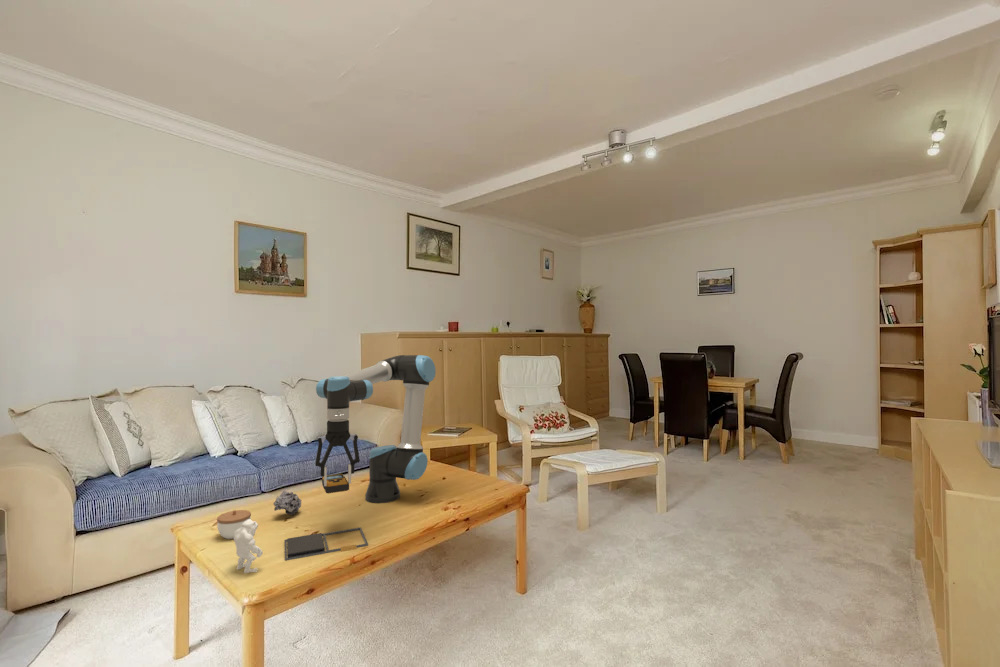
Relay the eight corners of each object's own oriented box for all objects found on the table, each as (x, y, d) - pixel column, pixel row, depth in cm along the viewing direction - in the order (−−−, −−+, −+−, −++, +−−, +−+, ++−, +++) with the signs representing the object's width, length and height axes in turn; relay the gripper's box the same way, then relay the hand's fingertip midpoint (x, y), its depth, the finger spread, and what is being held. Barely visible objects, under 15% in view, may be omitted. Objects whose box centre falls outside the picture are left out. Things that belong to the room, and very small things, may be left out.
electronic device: (325, 495, 167) (325, 485, 167) (321, 484, 181) (320, 475, 181) (350, 491, 170) (349, 482, 170) (344, 480, 184) (343, 472, 184)
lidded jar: (227, 545, 165) (227, 518, 165) (210, 538, 171) (211, 512, 171) (256, 534, 174) (257, 508, 174) (240, 528, 180) (240, 503, 180)
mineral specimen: (296, 509, 199) (296, 486, 200) (308, 515, 194) (308, 490, 194) (267, 518, 190) (267, 493, 190) (278, 524, 184) (278, 498, 184)
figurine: (227, 570, 147) (227, 521, 148) (248, 561, 153) (248, 514, 153) (245, 579, 141) (245, 529, 141) (266, 570, 147) (267, 521, 147)
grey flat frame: (284, 543, 167) (284, 537, 167) (360, 530, 178) (360, 525, 178) (284, 563, 151) (284, 557, 151) (368, 548, 162) (368, 542, 162)
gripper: (307, 423, 163) (306, 490, 163) (368, 419, 171) (368, 483, 171) (307, 419, 170) (306, 484, 170) (366, 416, 178) (365, 478, 178)
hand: (337, 483), depth 170 cm, fingers closed on electronic device, 8 cm apart
